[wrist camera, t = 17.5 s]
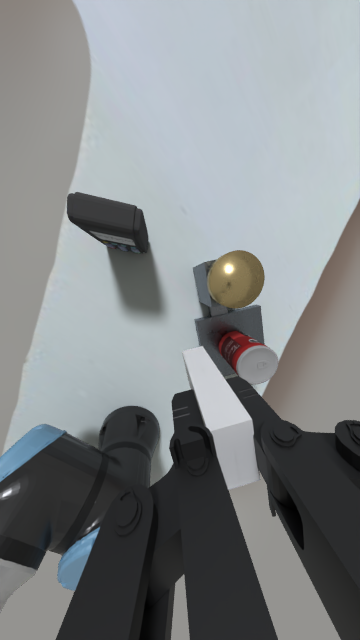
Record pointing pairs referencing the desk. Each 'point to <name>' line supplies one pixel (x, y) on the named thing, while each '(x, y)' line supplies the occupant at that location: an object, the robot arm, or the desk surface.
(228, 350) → the canned food
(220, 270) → the door knob
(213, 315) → the grey stepped stand
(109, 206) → the card reader
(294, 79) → the desk surface
